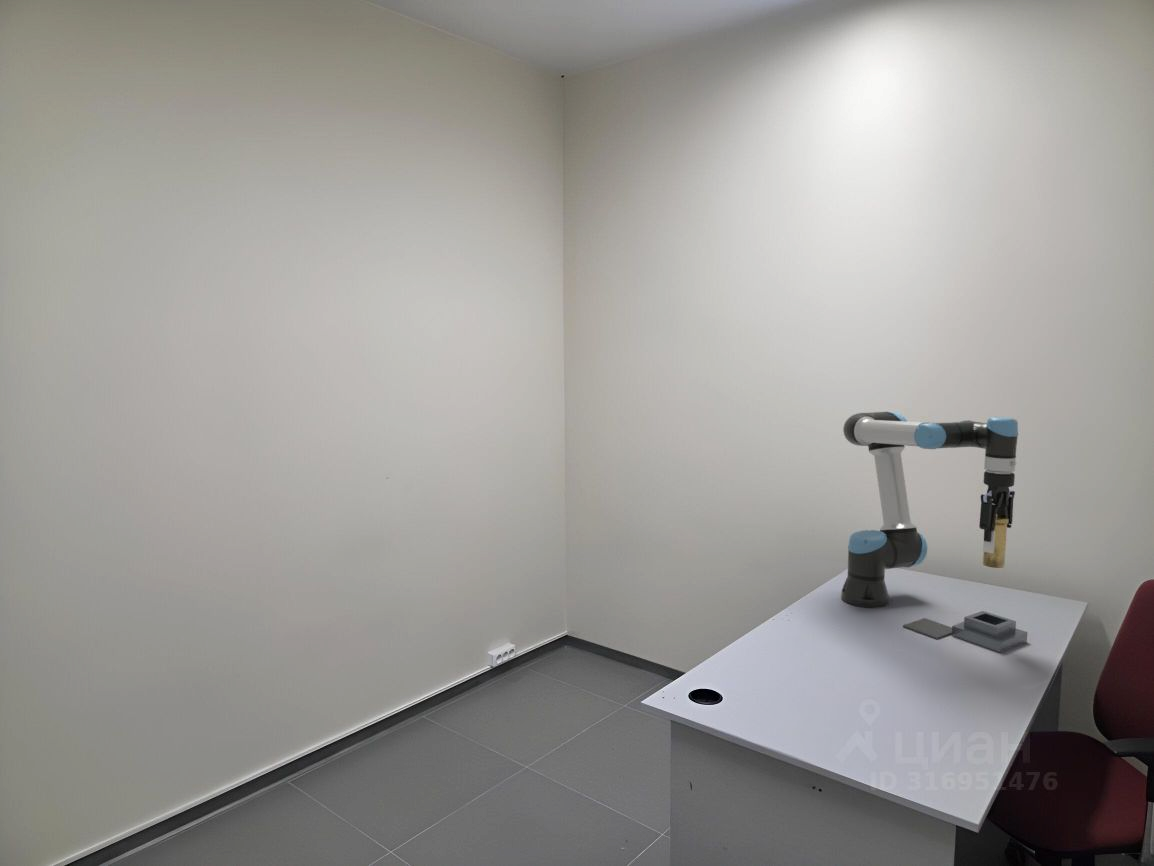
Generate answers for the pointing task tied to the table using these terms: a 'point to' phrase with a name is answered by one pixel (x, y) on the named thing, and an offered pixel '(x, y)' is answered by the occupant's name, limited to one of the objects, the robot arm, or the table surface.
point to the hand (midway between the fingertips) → (994, 550)
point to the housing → (990, 631)
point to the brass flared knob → (997, 545)
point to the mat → (929, 628)
